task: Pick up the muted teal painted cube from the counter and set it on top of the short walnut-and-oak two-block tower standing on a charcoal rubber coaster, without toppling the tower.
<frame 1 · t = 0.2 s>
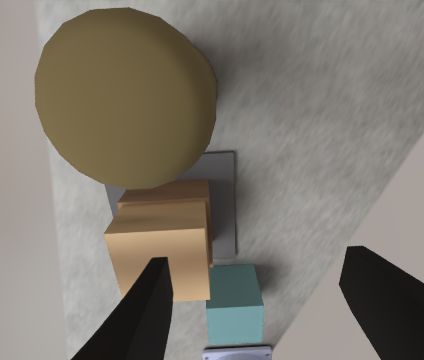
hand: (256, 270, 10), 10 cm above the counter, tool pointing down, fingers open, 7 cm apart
teal block: (230, 281, 23), on the counter
walnut base block: (174, 214, 19), resting on coaster mat, touching oak top block
cork: (173, 90, 16), on the counter
coaster mat: (174, 211, 20), on the counter
oak top block: (168, 237, 17), point 3 cm above the counter, touching walnut base block
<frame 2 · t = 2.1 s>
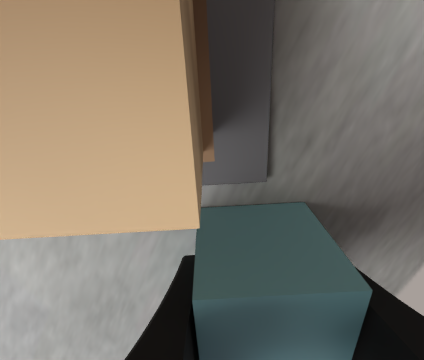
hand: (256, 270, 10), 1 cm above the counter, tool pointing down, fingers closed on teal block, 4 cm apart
teal block: (250, 247, 11), on the counter, touching gripper
walnut base block: (107, 40, 7), resting on coaster mat, touching oak top block
coaster mat: (112, 41, 7), on the counter
oak top block: (44, 17, 4), point 3 cm above the counter, touching walnut base block
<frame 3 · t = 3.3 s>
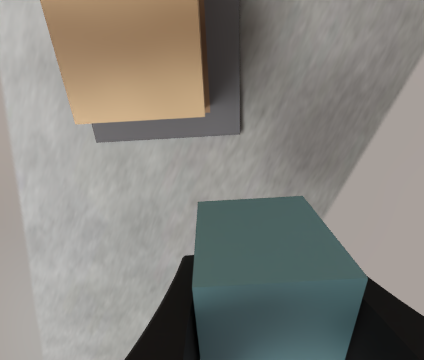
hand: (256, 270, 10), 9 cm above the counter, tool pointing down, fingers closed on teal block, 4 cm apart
teal block: (249, 241, 11), point 8 cm above the counter, touching gripper
walnut base block: (157, 57, 14), resting on coaster mat, touching oak top block
coaster mat: (158, 58, 15), on the counter
oak top block: (146, 53, 12), point 3 cm above the counter, touching walnut base block
when the fingers open (9 cm above the counter, at t = 4.7 s): teal block stays where it is, resting on oak top block.
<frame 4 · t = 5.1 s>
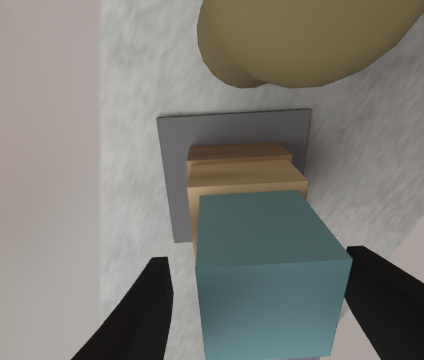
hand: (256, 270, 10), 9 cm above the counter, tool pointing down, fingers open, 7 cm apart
teal block: (248, 232, 12), point 6 cm above the counter, touching oak top block
walnut base block: (234, 183, 17), resting on coaster mat, touching oak top block
cork: (247, 33, 14), on the counter
coaster mat: (233, 181, 18), on the counter
oak top block: (239, 204, 15), point 3 cm above the counter, touching teal block, walnut base block
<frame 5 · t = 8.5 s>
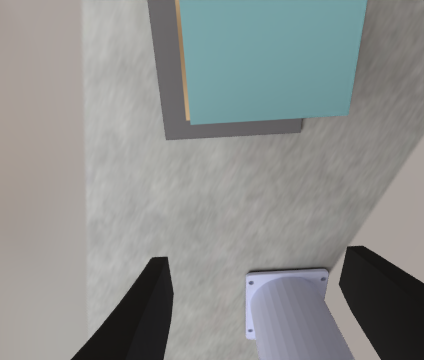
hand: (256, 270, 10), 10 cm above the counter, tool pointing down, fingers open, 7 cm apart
teal block: (245, 48, 10), point 6 cm above the counter, touching oak top block
coaster mat: (231, 61, 16), on the counter
oak top block: (236, 57, 13), point 3 cm above the counter, touching teal block, walnut base block
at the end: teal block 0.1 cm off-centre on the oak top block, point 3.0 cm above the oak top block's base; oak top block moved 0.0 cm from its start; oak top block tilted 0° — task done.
